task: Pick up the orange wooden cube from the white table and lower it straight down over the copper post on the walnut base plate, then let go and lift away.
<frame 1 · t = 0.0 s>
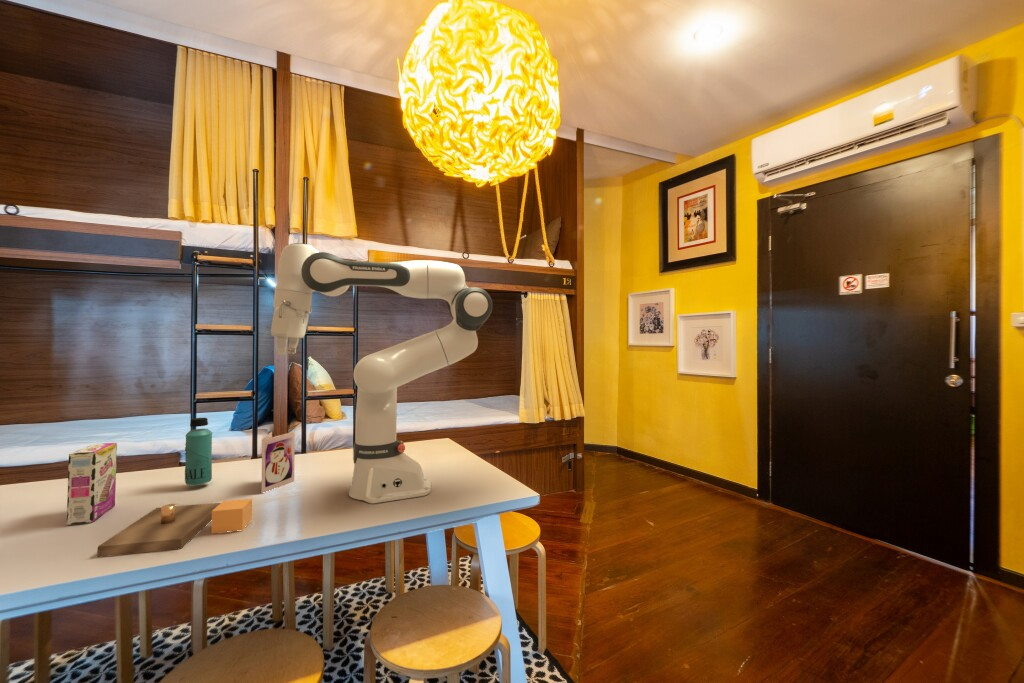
hand: (286, 354, 112), 39 cm above the table, tool pointing down, fingers open, 8 cm apart
post: (168, 513, 93), on the base plate, point 4 cm above the table
beverage bottle: (198, 487, 121), on the table
candy bar box: (93, 516, 101), on the table
base plate: (167, 530, 93), on the table
orange wooden cube: (232, 526, 95), on the table
greeting card: (270, 486, 122), on the table
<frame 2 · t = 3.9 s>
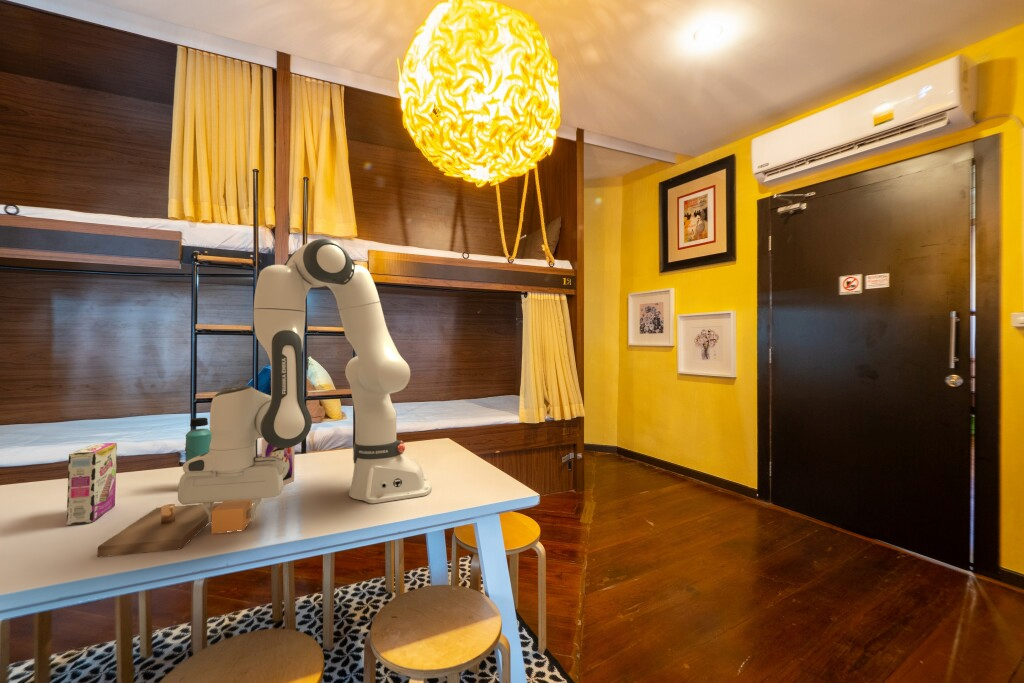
hand: (232, 519, 95), 2 cm above the table, tool pointing down, fingers closed on orange wooden cube, 6 cm apart
orange wooden cube: (232, 526, 95), on the table, touching gripper
everything else where it was.
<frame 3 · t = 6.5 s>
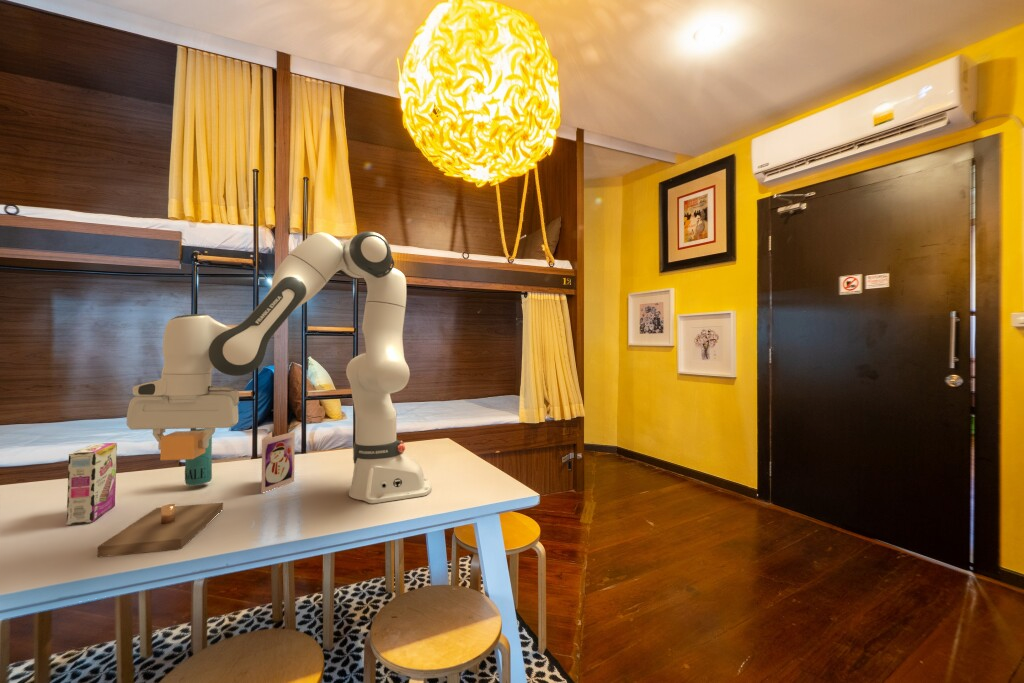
hand: (183, 448, 93), 18 cm above the table, tool pointing down, fingers closed on orange wooden cube, 6 cm apart
orange wooden cube: (183, 456, 93), point 17 cm above the table, touching gripper
everything else where it was.
when the fingers open (5 cm above the table, at t = 9.1 s): orange wooden cube stays where it is, resting on base plate.
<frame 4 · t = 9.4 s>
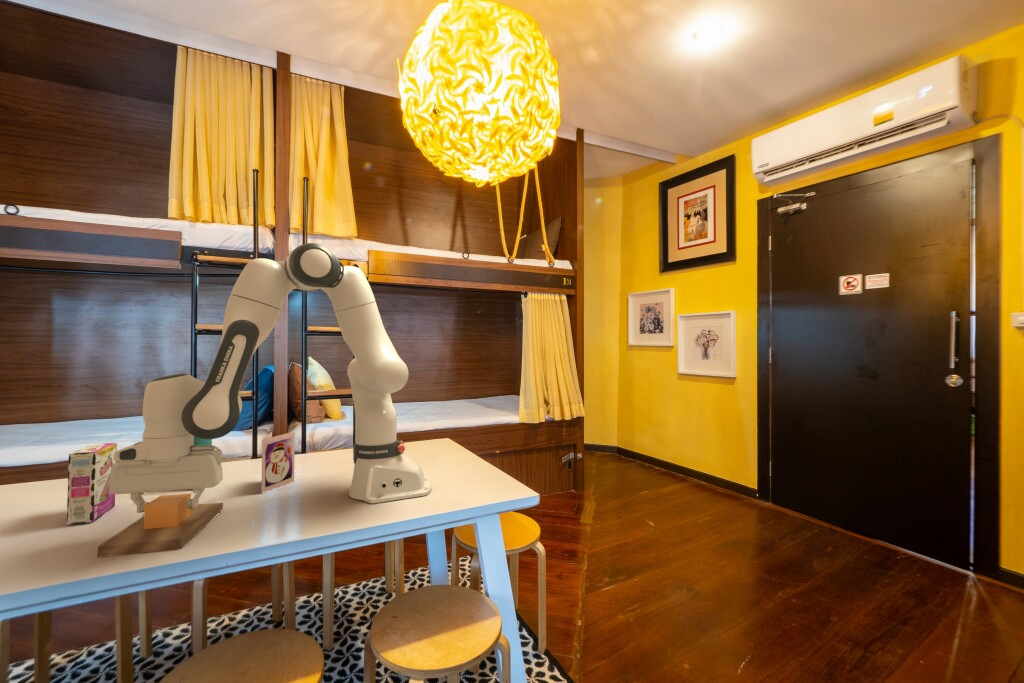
hand: (168, 509, 93), 5 cm above the table, tool pointing down, fingers open, 8 cm apart
orange wooden cube: (168, 521, 93), point 2 cm above the table, touching base plate
everything else where it was.
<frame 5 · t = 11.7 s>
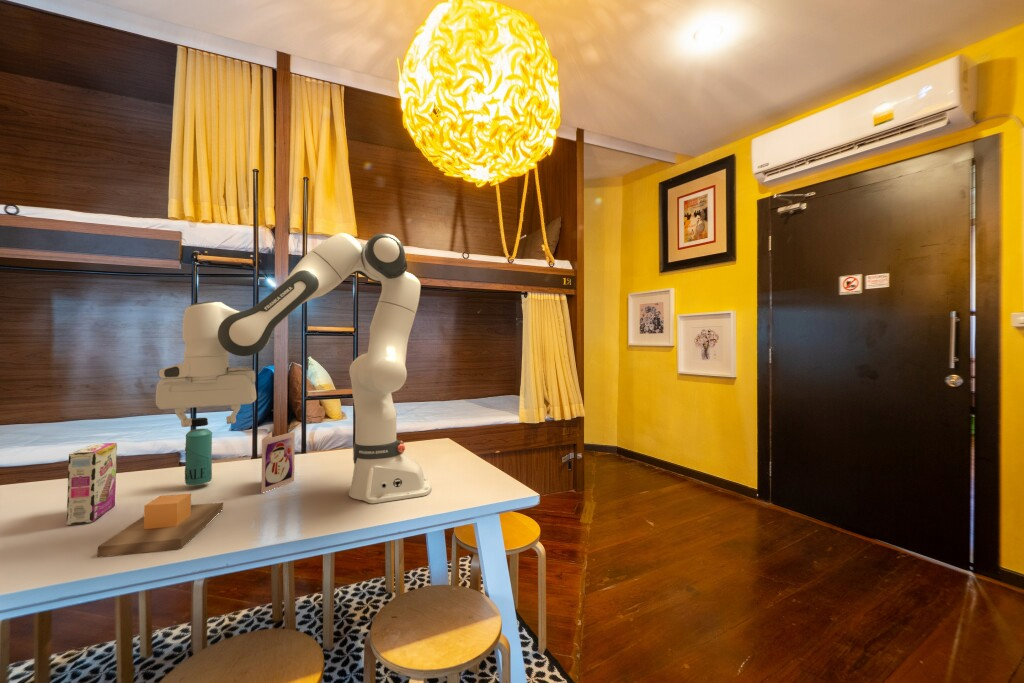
hand: (209, 424, 102), 22 cm above the table, tool pointing down, fingers open, 8 cm apart
nothing on the table moved.
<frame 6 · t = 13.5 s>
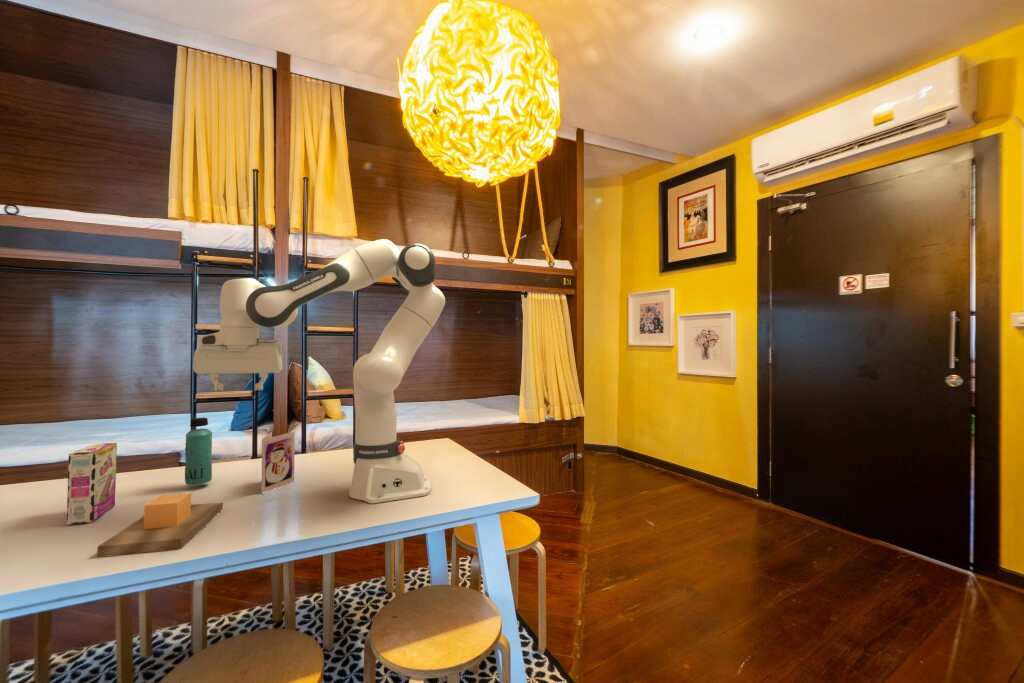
hand: (239, 390, 111), 29 cm above the table, tool pointing down, fingers open, 8 cm apart
nothing on the table moved.
at the end: orange wooden cube 0.1 cm off-centre on the post, point 2.0 cm above the post's base; orange wooden cube tilted 0°; the gripper is holding nothing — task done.
